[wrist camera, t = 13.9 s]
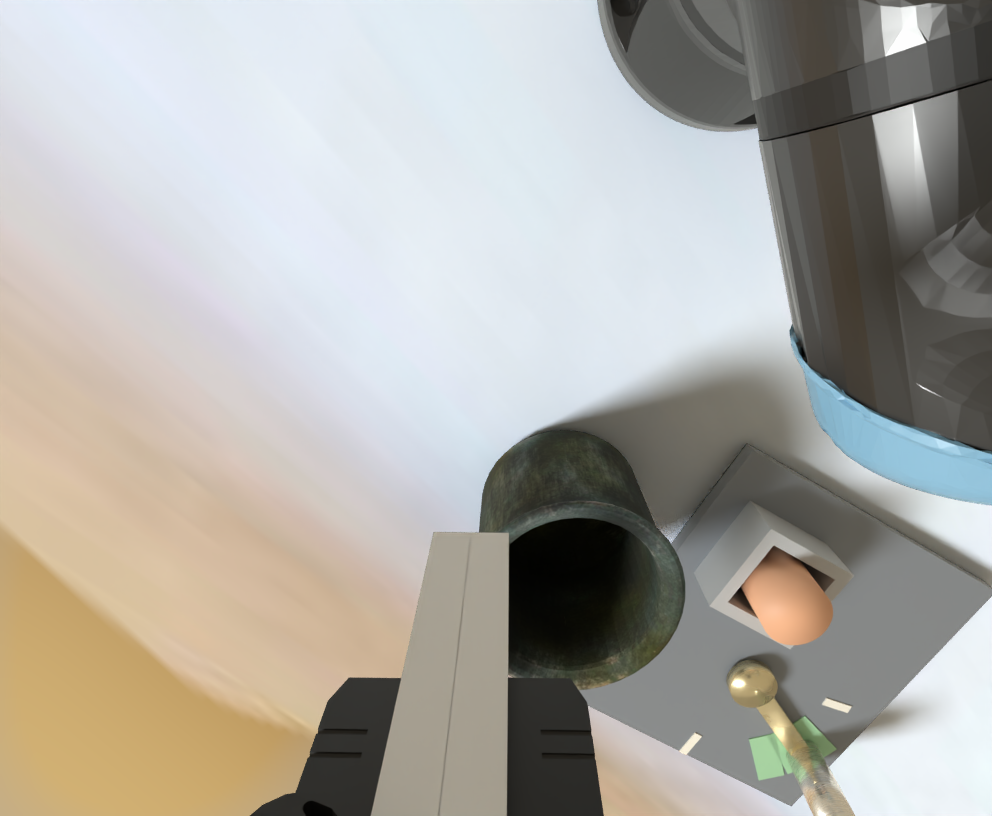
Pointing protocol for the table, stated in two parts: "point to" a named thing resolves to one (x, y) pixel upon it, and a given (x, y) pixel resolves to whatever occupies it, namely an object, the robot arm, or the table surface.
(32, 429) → the table surface
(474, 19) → the table surface
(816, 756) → the brass ball-ended crank
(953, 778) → the table surface
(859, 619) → the tuner board
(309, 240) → the table surface
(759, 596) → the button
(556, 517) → the mug
